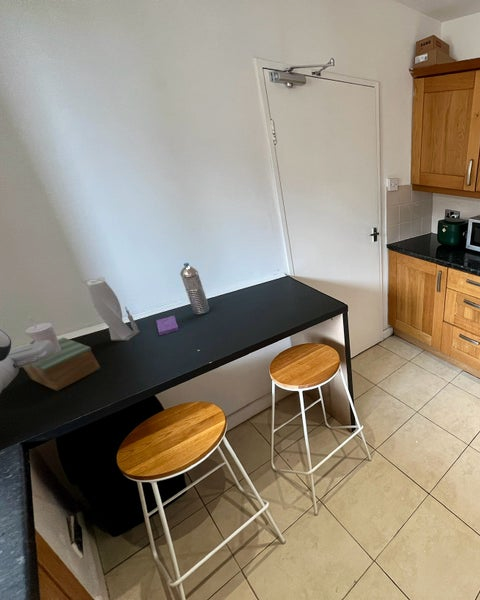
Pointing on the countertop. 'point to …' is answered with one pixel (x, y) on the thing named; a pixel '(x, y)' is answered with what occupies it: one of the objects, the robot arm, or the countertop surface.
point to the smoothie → (43, 333)
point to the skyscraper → (110, 309)
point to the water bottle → (194, 290)
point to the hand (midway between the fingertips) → (16, 347)
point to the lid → (62, 353)
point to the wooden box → (65, 371)
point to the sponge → (167, 325)
